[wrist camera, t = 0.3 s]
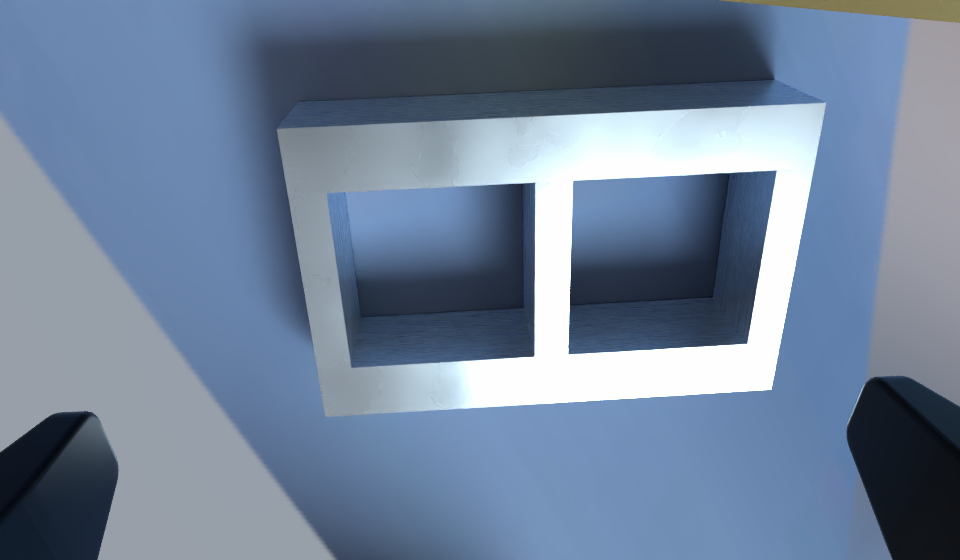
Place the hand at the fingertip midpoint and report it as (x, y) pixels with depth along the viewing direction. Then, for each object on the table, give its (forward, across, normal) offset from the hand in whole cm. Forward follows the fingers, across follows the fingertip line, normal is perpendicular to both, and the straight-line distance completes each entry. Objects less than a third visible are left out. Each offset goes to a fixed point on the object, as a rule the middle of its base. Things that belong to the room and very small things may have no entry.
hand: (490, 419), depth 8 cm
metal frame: (+13, -2, +5) cm, 15 cm away
